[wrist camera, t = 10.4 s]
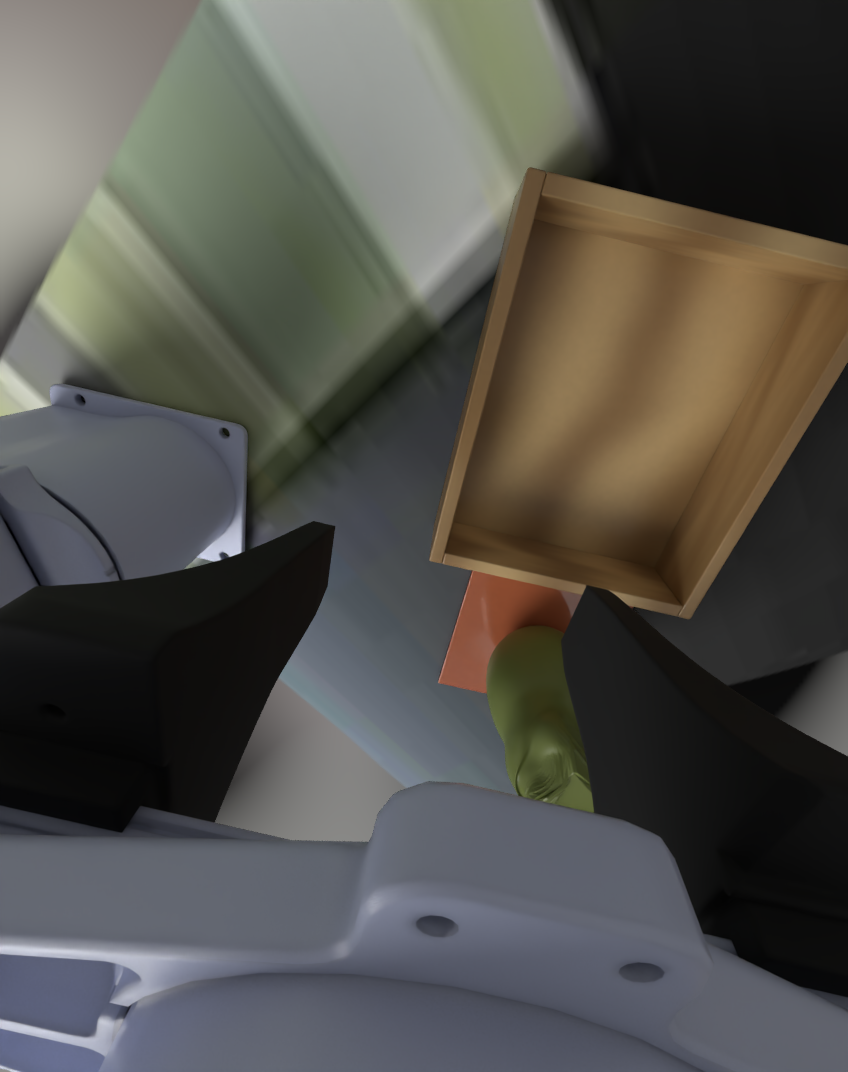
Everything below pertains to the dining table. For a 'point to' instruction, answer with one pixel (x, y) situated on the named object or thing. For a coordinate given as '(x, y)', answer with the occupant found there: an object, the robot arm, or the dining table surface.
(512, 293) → the wooden shallow box
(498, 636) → the coaster
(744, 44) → the dining table surface
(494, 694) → the pear
